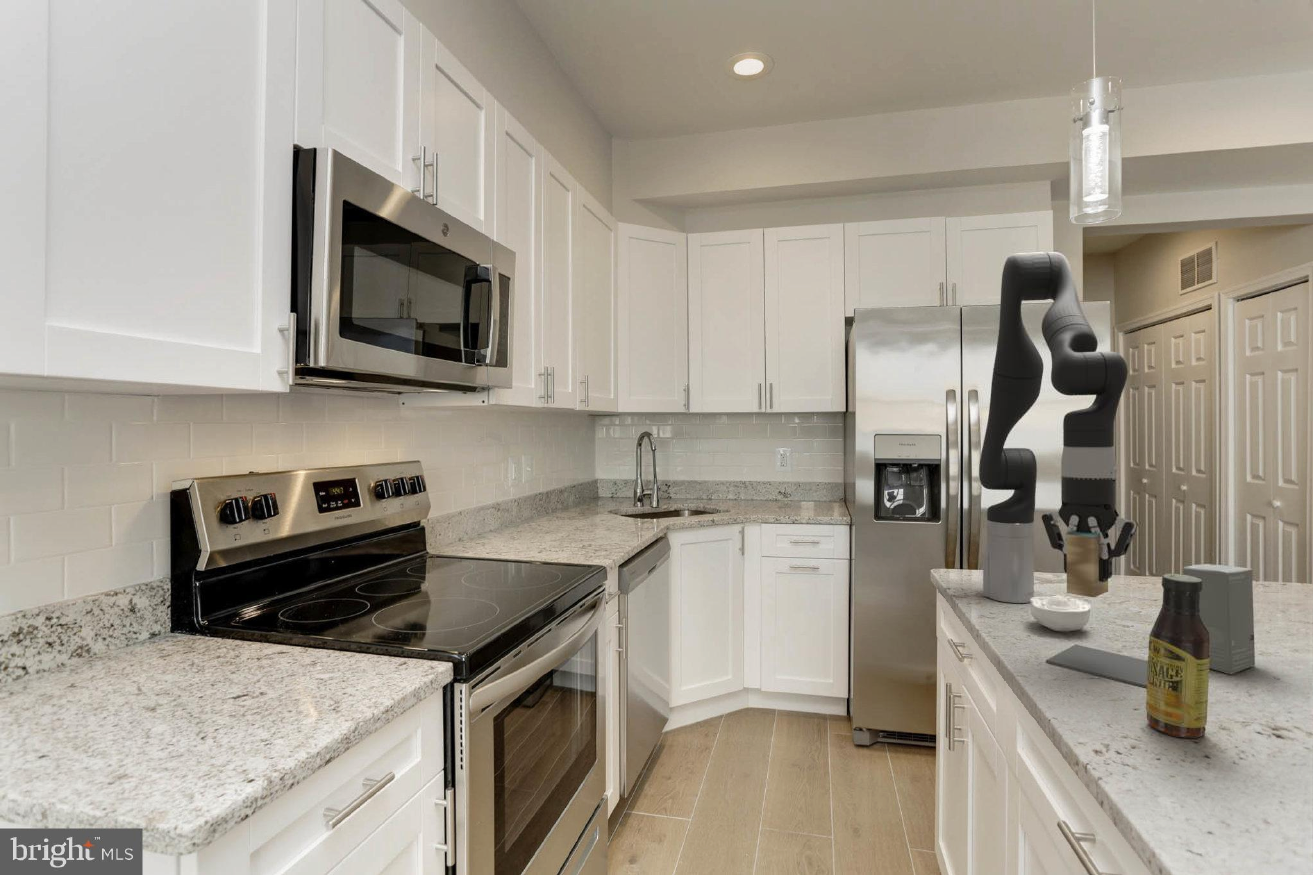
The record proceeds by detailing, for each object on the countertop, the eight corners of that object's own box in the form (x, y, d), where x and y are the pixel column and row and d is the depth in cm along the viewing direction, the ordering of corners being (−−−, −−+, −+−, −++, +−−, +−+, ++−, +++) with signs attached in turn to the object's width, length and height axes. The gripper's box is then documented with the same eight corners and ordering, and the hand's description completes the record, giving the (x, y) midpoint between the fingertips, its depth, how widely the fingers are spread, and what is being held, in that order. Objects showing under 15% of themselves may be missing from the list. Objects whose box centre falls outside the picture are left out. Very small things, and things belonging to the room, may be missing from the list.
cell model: (1097, 626, 131) (1097, 591, 131) (1083, 642, 122) (1083, 604, 122) (1038, 617, 138) (1038, 583, 138) (1021, 630, 129) (1021, 595, 129)
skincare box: (1231, 676, 106) (1232, 573, 105) (1179, 661, 112) (1179, 565, 112) (1258, 666, 110) (1259, 567, 109) (1205, 653, 116) (1206, 559, 116)
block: (1066, 592, 112) (1066, 532, 112) (1081, 586, 116) (1081, 528, 116) (1094, 597, 109) (1094, 534, 109) (1108, 591, 113) (1108, 530, 113)
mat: (1045, 662, 112) (1045, 660, 112) (1075, 646, 120) (1075, 644, 120) (1163, 692, 100) (1163, 689, 100) (1188, 672, 107) (1188, 669, 107)
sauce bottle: (1134, 720, 91) (1134, 571, 90) (1178, 717, 91) (1179, 569, 91) (1175, 743, 84) (1176, 582, 84) (1222, 740, 85) (1224, 581, 84)
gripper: (1032, 473, 116) (1032, 575, 116) (1130, 478, 104) (1129, 590, 105) (1051, 471, 120) (1051, 568, 121) (1147, 475, 109) (1146, 582, 109)
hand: (1087, 578), depth 113 cm, fingers closed on block, 4 cm apart
